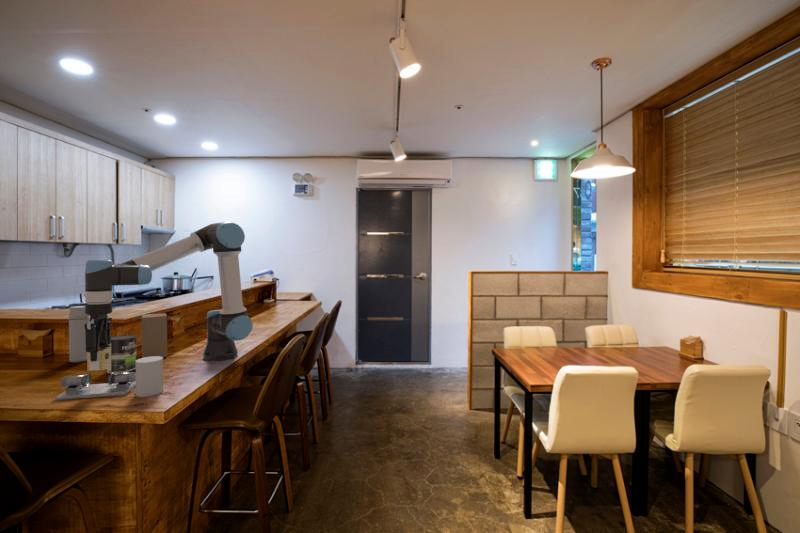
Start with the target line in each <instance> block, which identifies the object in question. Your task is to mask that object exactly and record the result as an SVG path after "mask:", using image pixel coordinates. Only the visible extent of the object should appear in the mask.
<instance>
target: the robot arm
mask: <svg viewBox="0 0 800 533" xmlns="http://www.w3.org/2000/svg"><path fill="white" fill-rule="evenodd" d="M245 237H246V236H245V232H244V229H243V228H242V227H241V226H240V225H239V224H237V223H235V222H232V221H223V222H216V223H211V224H209V225H205V226H204V227H202V228H200V229H198V230H194V231H193V232H191V233H190V234H189V236H187V237H183V238H182V239H179V240H178V241H175V242H172V243H170V244H169V243H168V244H167V245H164V246H162V247H160V248H157V249H154V250H152V251H150V252H146V253H145V254H142V255H140V256H137V257H134V258H132V259H130V260H127V261H125V262H122V263H117V264H114V263H113V261H112V260H111V259H89V260H87V261H86V262H85V269H84V270H85V271H84V282H85V283H84V286H85V289H84V290H85V292H84V295H83V296H84V297H85V298H84V301H85V303H86V304H84V306H85V314H86V315H90V317H89V318H90V320H89V323H88V324H85V325H84V327H85V334H86V352H90V370H97V371H101V370H100V351H99V348H107V347H110V346H111V345H108V344H110V343H111V337H112V331H111V330H112V323H113V322H112V321H113V317H109V314H112V313H113V303H112V301H114V300H113V286H143V285H149V284H150V283H151V282H152V278H153V271H156V270H158V269H160V268H163V267H165V266H167V265H169V264H172V263H174V262H177V261H179V260H181V259H184V258H186V257H188V256H190V255H193V254H194V253H197V252H199V253H203V252H206V251H207V250H212V251H213V254H214V255H215V256H216V257H217V262H218V263H217V265H218V274H219V284H220V292H221V294H220V295H221V304H222V308H221V309H215V310H209V311H208V312H207V313H206V314H207V315H206V339H207V340H206V344H205V347H204V351H203V353H202V358H203V360H205V361H224V360H223V359H225V360H229V359H228V358H230V359H233V358H235V357H234V356H236V355H237V354H239V353H238V347H237V346H236V342H235V341H242V340H244V339H246V338H247V337H248V336H249V335H250V334H251V332H252V330H253V324H254V323H253V320H252V319H251V318H250V317H249V316H248V310H247V308H246V307H245V306H244V303H243V293H242V283H241V271H240V269H241V268H240V259H239V255H240V254H241V253H242V245H243V243H244V242H245V239H246V238H245ZM237 356H238V355H237ZM237 356H236V357H237ZM232 357H233V358H232Z"/></svg>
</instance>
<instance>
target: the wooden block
mask: <svg viewBox="0 0 800 533" xmlns="http://www.w3.org/2000/svg"><path fill="white" fill-rule="evenodd" d="M151 356H161V357H163V358H165V357H166V358H167V357H168V316H167V314H166V312H165V313H164V312H163V313H150V314H149V313H147V314H142V315H141V358H144V357H151Z"/></svg>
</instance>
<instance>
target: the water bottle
mask: <svg viewBox="0 0 800 533" xmlns="http://www.w3.org/2000/svg"><path fill="white" fill-rule="evenodd" d="M68 314H69V315H68V317H67V319H68V343H69V344H68V354H69V355H68V358H69V360H68V361H69V362H70V363H73V364H74V363H83V362H87V352H86V334H85V327H84V325H85V324H88V323H89V320H90V315H86V314H85V305H77V306H70V307H69V313H68Z"/></svg>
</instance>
